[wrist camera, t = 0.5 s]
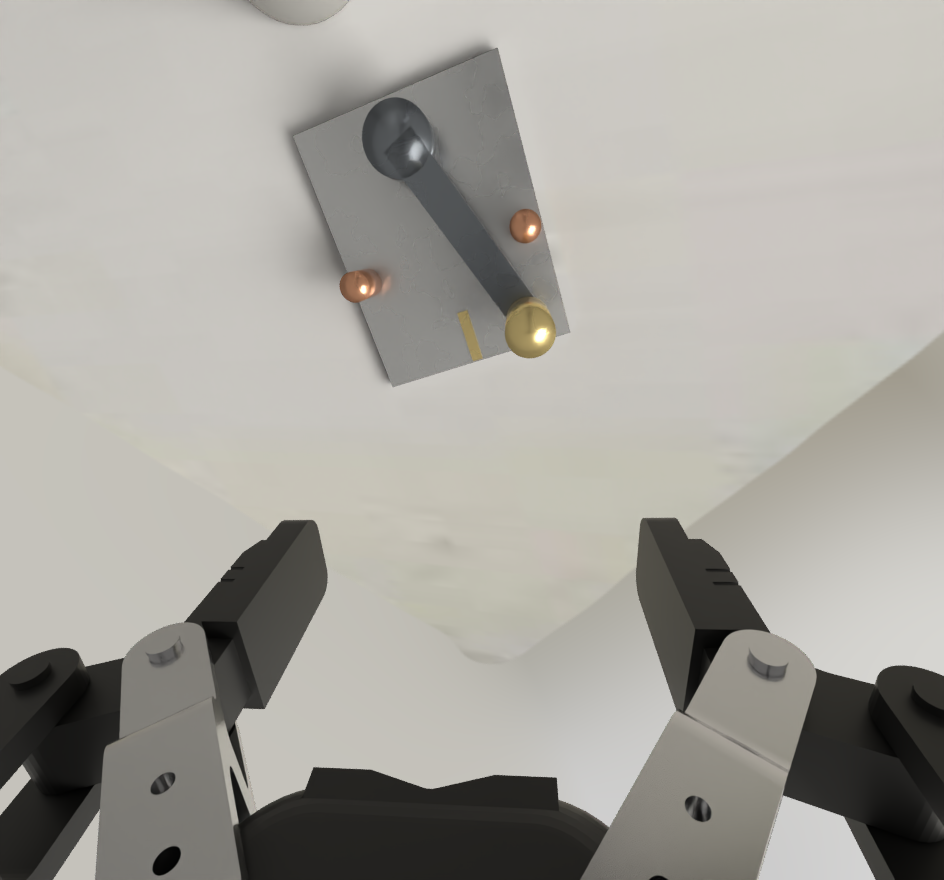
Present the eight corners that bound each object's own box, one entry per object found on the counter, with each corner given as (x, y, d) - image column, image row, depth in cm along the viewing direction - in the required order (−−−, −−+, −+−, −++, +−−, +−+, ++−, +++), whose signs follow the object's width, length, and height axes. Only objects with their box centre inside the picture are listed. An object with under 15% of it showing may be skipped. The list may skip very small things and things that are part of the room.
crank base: (298, 138, 31) (268, 124, 27) (497, 52, 28) (495, 24, 24) (395, 384, 36) (381, 400, 32) (569, 330, 34) (575, 341, 30)
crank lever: (357, 139, 28) (314, 112, 22) (406, 89, 27) (375, 45, 21) (515, 348, 32) (515, 374, 26) (563, 312, 31) (576, 330, 25)
